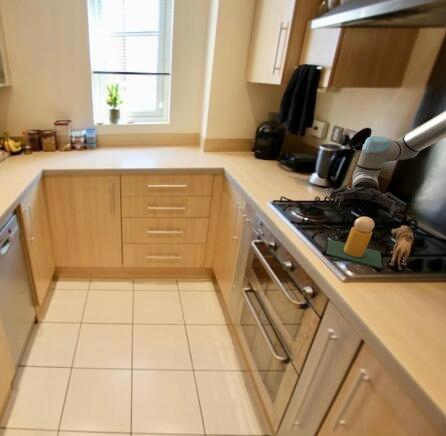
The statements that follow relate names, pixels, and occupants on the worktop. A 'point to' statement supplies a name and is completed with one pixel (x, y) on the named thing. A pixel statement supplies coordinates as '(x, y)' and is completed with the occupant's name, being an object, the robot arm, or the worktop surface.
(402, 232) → the lion figurine
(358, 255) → the peg doll
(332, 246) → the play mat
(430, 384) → the worktop surface
